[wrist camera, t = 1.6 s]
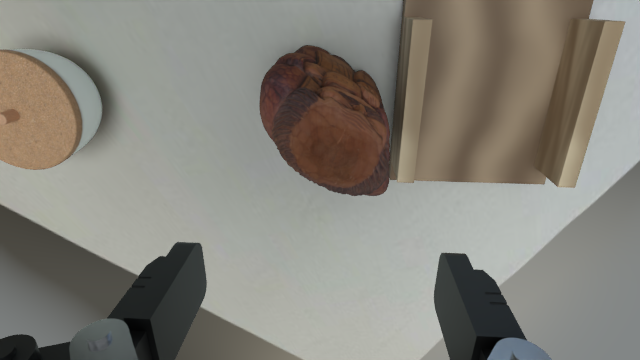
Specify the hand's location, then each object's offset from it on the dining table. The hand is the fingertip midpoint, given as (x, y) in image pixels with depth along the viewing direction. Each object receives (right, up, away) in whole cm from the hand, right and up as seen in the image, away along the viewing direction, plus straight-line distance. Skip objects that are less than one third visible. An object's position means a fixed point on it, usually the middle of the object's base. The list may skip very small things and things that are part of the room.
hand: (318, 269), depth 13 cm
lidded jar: (-26, +12, +29) cm, 41 cm away
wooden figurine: (+2, +12, +27) cm, 30 cm away
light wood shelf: (+16, +12, +26) cm, 32 cm away
